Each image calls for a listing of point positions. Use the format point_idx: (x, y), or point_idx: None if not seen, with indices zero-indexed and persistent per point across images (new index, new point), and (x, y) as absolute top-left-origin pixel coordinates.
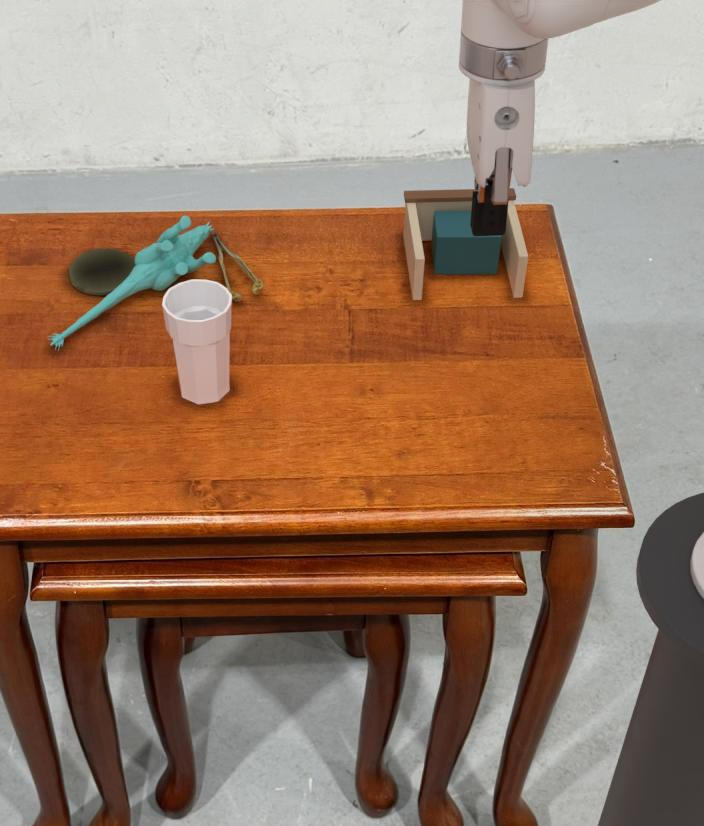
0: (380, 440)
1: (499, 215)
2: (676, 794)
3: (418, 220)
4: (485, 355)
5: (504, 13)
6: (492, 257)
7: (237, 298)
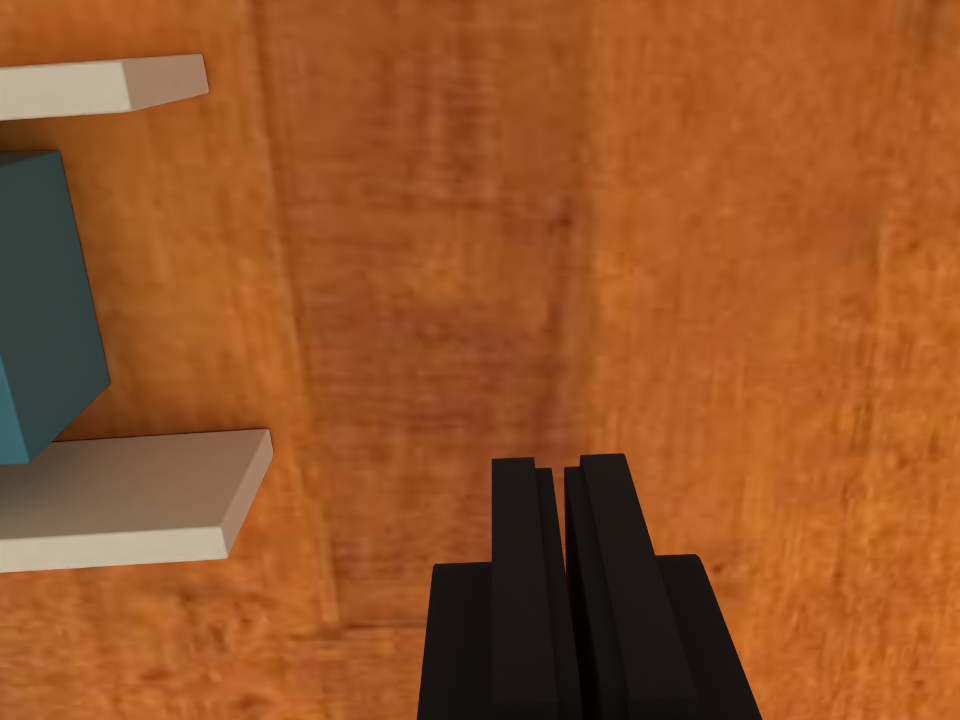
0: (934, 547)
1: (732, 653)
2: None
3: None
4: (566, 228)
5: None
6: (25, 192)
7: None
